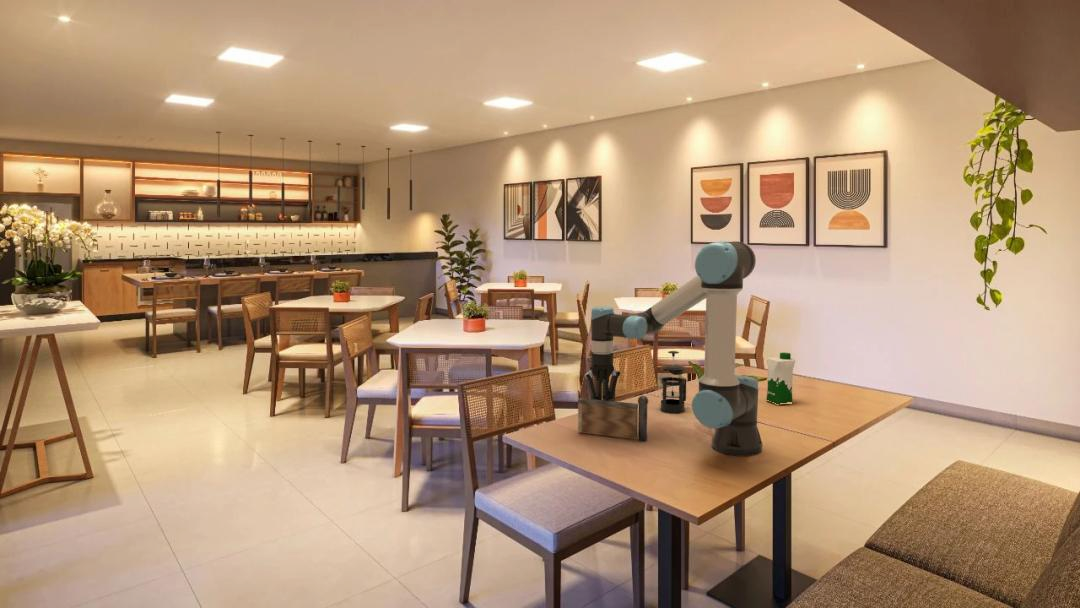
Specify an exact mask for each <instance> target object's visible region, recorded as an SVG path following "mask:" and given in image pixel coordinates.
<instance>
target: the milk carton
mask: <svg viewBox="0 0 1080 608" xmlns="http://www.w3.org/2000/svg"><path fill="white" fill-rule="evenodd" d="M791 357H792V355H791V353H790V352H780V353H779V356H772V357H766V363H767V393H766V400H769V401H771V402H774V403H776V404H780V403H787V402H792V403H793V375H794V374H793V373H794V367H795V364H796V359H792V358H791ZM766 400H765V401H766Z"/></svg>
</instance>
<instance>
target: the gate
mask: <svg viewBox="0 0 1080 608" xmlns="http://www.w3.org/2000/svg"><path fill="white" fill-rule="evenodd" d="M577 422H578V423H577V428H578V429H577V432H578V433H583V434H584V433H586V434H593V435H604V436H610V437H618V438H627V439H634V440H635V439H638V422H639V404H638V403H632V402H624V401H616V400H615V401H605V400H603V399H602V400H595V399H591V398H583V397H580V398H579V399H577Z"/></svg>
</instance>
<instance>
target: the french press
mask: <svg viewBox="0 0 1080 608" xmlns="http://www.w3.org/2000/svg"><path fill="white" fill-rule="evenodd" d="M667 353H668V354H671V357H672V364H666V365H662V366H660V368H661V371H662V373H664V372H669V373H670V374H671V375H672V377H671V376H668V377H662V378H661V379H660V383H661V384H662V392H661V395H662V400H660V408H659V409H660V412H661V413H664V414H665V413H666V414H670V415H671V414H672V415H674V414H678V415H679V414H683V413H685V411H686V409H685V405H686V404H685V402H686V400H687V378H685V377H682V378H680V377H674V376H679V375H680V376H681V375H684V374H685V370H686V367H685V366H684V365H680V364H679V365H678V364H674V362H675V355H676V354H679V353H680V352H679V351H677V350H670V351H667ZM667 386H671V389H672V390H671V391H667ZM674 387H678V391H674Z"/></svg>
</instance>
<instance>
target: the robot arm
mask: <svg viewBox="0 0 1080 608" xmlns="http://www.w3.org/2000/svg"><path fill="white" fill-rule="evenodd" d="M756 259H757V258H756V255H755V252H754V250H753V249H752V248H751V246H749V245H748V244H746V243H744V242H743V241H734V240H733V241H722V240H721V241H714V242H711V243H708V244H706V245H705V246H703V247H702V248H701V249H700V250H699V251H698V253H697V255H696V258H695V260H694V268H695V269H694V270H695V272H696V276H694V277H693V278H692V279H690V280H689V281H687V282H686V283H684V284H683V285H681V286H679V288H677V289H675V290H673V291H672V292H671V293H669V294H668V295H667V296H665V297H664V298H662V299H661V300H659V301H658V302H656V303H655V304H653V305H652V306H651V307H649V308H648V309H646V310H645V311H642V312H641V311H640V312H637V313H632V314H631V313H630V314H618V313H615V312H614V308H613V307H612V306H605V305H604V306H594V307H593V308H592V309H591V312H590V313H591V317H590V331H591V332H590V334H591V337H590V343H591V344H590V351H591V353H590V363H591V364H590V368H589V371H587V372H584V373H583V376H584V378H585V379H586V382H587V383H586V384H587V387H588V392H589V397H590V399H595V400H605V401H610V399H613V397H614V392H615V393H616V387H617V383H618V378H619V377H620V376H621V372H620V371H619V370H616V369H615V367H614V337H617V338H624V339H629V340H641V339H643V338H644V337H645V336H646V335H649V334H655V333H657V332H660V331H661V330H662V329H663V328H664V326H665V325H666V324H668V323H669V322H671V321H672V320H674V319H676V318H678V317H679V316H681V315H682V314H683V313H685V312H687V311H688V310H690V309H691V308H693V307H694V306H695V305H697V304H699V303H701V302H703V301H704V300H705V328H704V329H705V330H704V331H705V332H704V333H705V336H704V338H705V339H704V366H703V369H704V370H703V371H704V372H703V373H704V374H703V375H702V376H701V377H699V379H698V391H697V392H696V394H694V397H693V398H692V401H691V410H692V413H693V415H694V417H695V419H696V420H698V421H699V423H700V424H701V425H703V426H704V427H707V428H709V429H715V430H714V434H713V436H712V438H711V447H712V448H713V449H714V450H715V451H717V452H719V453H722V454H725V455H731V456H737V457H738V456H739V457H740V456H741V457H742V456H743V457H747V456H748V457H749V456H756V455H758V454H761V453H762V452H763V441H762V439H761V434H760V431H759V428H758V407H759V404H758V403H759V391H760V389H759V382H758V380H757V379H756V378H754V377H752V376H751V377H750V376H746V375H738V374H735V373H736V370H735V369H736V343H737V340H736V339H737V335H736V334H737V310H738V309H737V306H738V305H737V304H738V301H737V300H738V294H739V293H740V292H741V291H743V288H744V279H746V278H748V277H749V276H750V275H751V274H752V272H753V271H754V269H755V267H756V262H757V260H756ZM593 377H594V380H593ZM594 381H595V384H594Z"/></svg>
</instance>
